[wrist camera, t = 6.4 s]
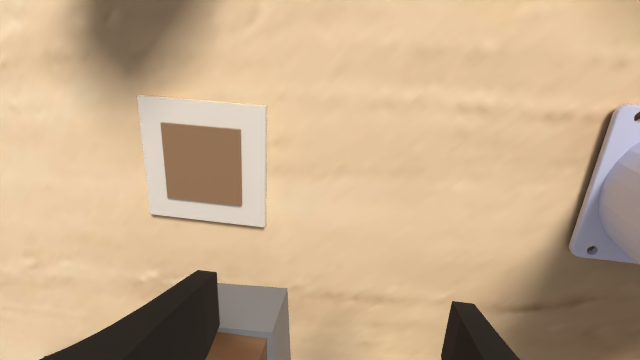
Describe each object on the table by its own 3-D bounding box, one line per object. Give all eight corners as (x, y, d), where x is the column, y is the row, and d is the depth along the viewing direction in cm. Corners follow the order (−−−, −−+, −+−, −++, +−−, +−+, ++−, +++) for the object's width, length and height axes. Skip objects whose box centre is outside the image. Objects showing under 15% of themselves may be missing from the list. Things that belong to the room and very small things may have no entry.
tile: (267, 105, 20) (263, 107, 20) (266, 224, 23) (263, 229, 22) (141, 95, 21) (134, 96, 21) (153, 211, 24) (148, 215, 23)
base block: (287, 286, 25) (272, 332, 21) (291, 360, 27) (277, 413, 23) (197, 280, 25) (166, 322, 22) (207, 351, 28) (181, 401, 24)
